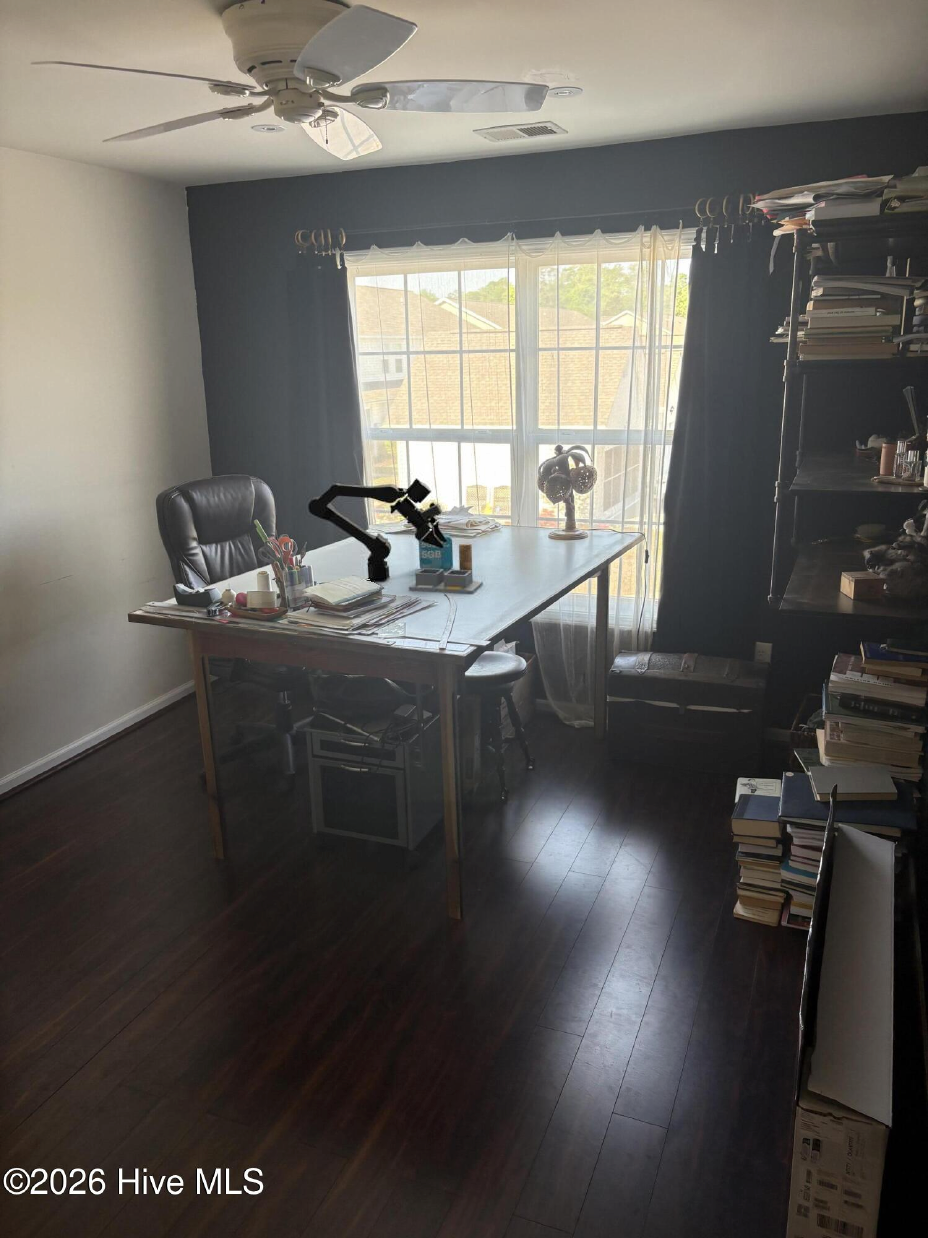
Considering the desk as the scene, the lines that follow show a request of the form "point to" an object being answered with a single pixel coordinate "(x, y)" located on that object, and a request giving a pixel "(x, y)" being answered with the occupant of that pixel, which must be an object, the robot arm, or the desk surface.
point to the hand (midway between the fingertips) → (444, 544)
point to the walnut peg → (465, 556)
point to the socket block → (445, 581)
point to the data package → (436, 555)
